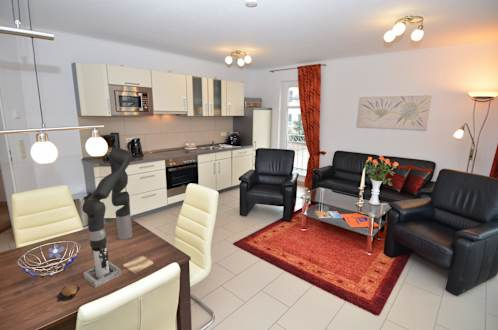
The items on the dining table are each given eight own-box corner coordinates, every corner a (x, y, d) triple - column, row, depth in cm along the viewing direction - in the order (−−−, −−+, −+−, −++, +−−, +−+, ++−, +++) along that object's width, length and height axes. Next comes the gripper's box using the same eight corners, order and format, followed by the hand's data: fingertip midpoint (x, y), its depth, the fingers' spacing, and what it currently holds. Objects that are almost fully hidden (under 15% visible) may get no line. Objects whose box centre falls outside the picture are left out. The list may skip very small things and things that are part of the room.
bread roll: (63, 288, 130) (62, 282, 129) (82, 285, 132) (81, 279, 131) (54, 303, 120) (52, 297, 119) (74, 300, 122) (73, 293, 121)
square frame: (84, 277, 137) (83, 270, 136) (109, 265, 148) (108, 259, 147) (95, 287, 130) (94, 280, 129) (121, 274, 140) (120, 267, 139)
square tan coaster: (122, 266, 147) (122, 264, 147) (141, 256, 157) (141, 255, 157) (134, 274, 141) (133, 272, 140) (153, 263, 150) (153, 262, 150)
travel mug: (96, 274, 140) (91, 241, 136) (109, 270, 143) (105, 238, 139) (95, 280, 135) (90, 246, 130) (109, 277, 138) (105, 243, 133)
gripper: (111, 238, 133) (115, 266, 136) (98, 230, 141) (102, 257, 144) (96, 244, 127) (100, 273, 130) (83, 235, 135) (87, 263, 139)
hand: (101, 264), depth 137 cm, fingers closed on travel mug, 6 cm apart
